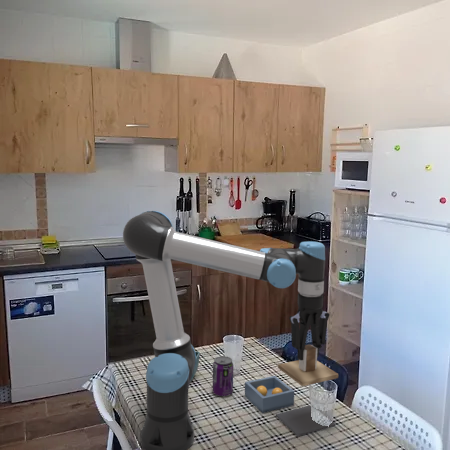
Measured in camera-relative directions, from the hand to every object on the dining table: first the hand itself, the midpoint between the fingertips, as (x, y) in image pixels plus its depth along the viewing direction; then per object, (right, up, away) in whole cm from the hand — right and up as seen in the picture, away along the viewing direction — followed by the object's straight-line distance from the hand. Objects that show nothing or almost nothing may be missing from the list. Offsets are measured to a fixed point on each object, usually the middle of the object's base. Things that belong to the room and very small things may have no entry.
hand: (307, 368), depth 137 cm
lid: (0, -2, 0) cm, 2 cm away
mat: (0, -17, +2) cm, 17 cm away
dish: (-11, -15, +14) cm, 23 cm away
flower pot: (-40, -13, +29) cm, 51 cm away
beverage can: (-26, -15, +19) cm, 35 cm away
